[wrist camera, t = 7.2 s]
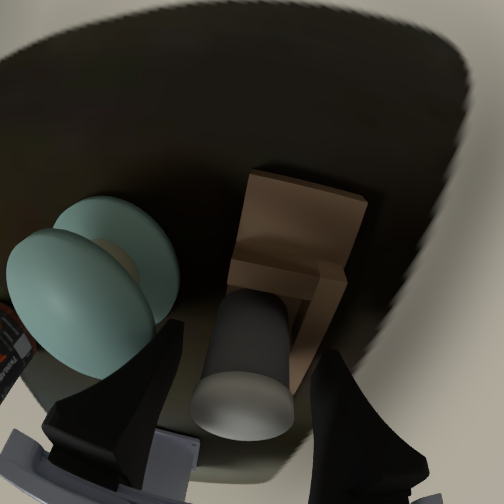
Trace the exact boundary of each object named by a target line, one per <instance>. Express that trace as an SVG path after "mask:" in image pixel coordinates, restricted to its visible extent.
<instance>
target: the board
mask: <svg viewBox="0 0 504 504" xmlns="http://www.w3.org/2000/svg"><path fill="white" fill-rule="evenodd" d="M367 205H368V202H367V201H366V200H365V199H364V197H363V196H361V195H358V194H354V193H351V192H347V191H343V190H340V189H336V188H332V187H328V186H324V185H320V184H317V183H313V182H309V181H304V180H300V179H296V178H292V177H288V176H283V175H279V174H274V173H270V172H265V171H261V170H256V169H251V172H250V175H249V180H248V184H247V189H246V194H245V199H244V204H243V209H242V214H241V219H240V224H239V229H238V234H237V240H236V244H235V248H234V251H233V255H232V259H231V264H230V269H229V274H228V280H227V284H228V286H227V292H226V296H227V295H228V294H230V293H231V292H233V291H235V290H238V289H242V288H249V289H254V290H259V291H264V292H269V293H273V294H275V295H276V296H278V297H279V298H280V299H281V300H282V301H283V303H284V304H285V306H286V308H287V311H288V332H289V381H290V392H291V393H292V395H294V394H295V392H296V390H297V388H298V386H299V384H300V383H301V381H302V379H303V377H304V375H305V373H306V371H307V369H308V367H309V365H310V363H311V361H312V359H313V357H314V355H315V353H316V351H317V349H318V347H319V345H320V343H321V341H322V339H323V337H324V335H325V333H326V331H327V328H328V326H329V324H330V322H331V320H332V318H333V315H334V313H335V311H336V309H337V307H338V304H339V302H340V300H341V297H342V295H343V293H344V291H345V288H346V286H347V284H348V282H347V279H346V276H345V273H344V268H345V265H346V263H347V260H348V257H349V255H350V252H351V250H352V247H353V244H354V241H355V239H356V236H357V233H358V231H359V228H360V225H361V222H362V219H363V216H364V214H365V211H366V208H367Z"/></svg>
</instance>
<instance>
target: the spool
mask: <svg viewBox="0 0 504 504" xmlns="http://www.w3.org/2000/svg"><path fill="white" fill-rule="evenodd" d="M6 275H7V285H8V290H9V294H10V297H11V300H12V303H13V305H14V308H15V310H16V312H17V314H18V316H19V317H20V319H21V321H22V322H23V324H24V325H25V327H26V328H27V330H28V331H29V332H30V334H31V335H32V336H33V337H34V338H35V339H36V341H37V342H38V343H39V344H40V345H41V346H42V347H43V348H44V349H45V350H47V351H48V352H49V353H50V354H51V355H52V356H54V357H55V358H56V359H58V360H59V361H61V362H62V363H64V364H65V365H67V366H69V367H70V368H72V369H74V370H76V371H78V372H80V373H83V374H85V375H88V376H91V377H94V378H98V379H104V378H106V377H107V376H109V375H110V374H112V373H113V372H115V371H116V370H118V369H119V368H120V367H122V366H123V365H124V364H125V363H127V362H128V361H129V360H130V359H131V358H132V357H134V356H135V355H136V354H137V353H138V352H139V351H140V350H141V349H142V348H144V347H145V346H146V345H147V344H148V343H149V342H150V341H151V339H152V338H153V337H154V336H155V335H156V324H157V323H159V322H160V321H161V320H163V319H164V318H165V317H166V316H167V314H168V313H169V312H170V310H171V308H172V306H173V304H174V302H175V300H176V297H177V295H178V292H179V288H180V282H181V273H180V265H179V261H178V258H177V254H176V252H175V250H174V247H173V245H172V243H171V241H170V240H169V238H168V236H167V235H166V233H165V232H164V231H163V229H162V228H161V227H160V226H159V224H158V223H157V222H156V221H155V220H154V219H153V218H152V217H151V216H149V215H148V214H147V213H146V212H144V211H143V210H142V209H140V208H139V207H137V206H135V205H134V204H132V203H130V202H128V201H125V200H123V199H120V198H116V197H112V196H93V197H88V198H85V199H83V200H81V201H79V202H77V203H76V204H74V205H73V206H71V207H70V208H68V209H67V210H65V211H64V212H63V213H62V214H61V215H60V217H59V218H58V219H57V221H56V223H55V225H54V227H53V228H47V229H43V230H39V231H37V232H34V233H32V234H31V235H30V236H28V237H27V238H26V239H24V240H23V241H22V242H21V243H19V244H18V245H17V246H16V247H15V248H14V249H13V251H12V252H11V254H10V256H9V260H8V263H7V271H6Z"/></svg>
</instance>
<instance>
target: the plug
mask: <svg viewBox="0 0 504 504" xmlns="http://www.w3.org/2000/svg"><path fill="white" fill-rule="evenodd" d="M189 413H190V416H191V418H192V419H193V421H194V422H195V423H196V424H197V425H199V426H200V427H201V428H203V429H204V430H206V431H208V432H210V433H212V434H215V435H217V436H220V437H224V438H228V439H233V440H241V441H258V440H265V439H270V438H273V437H276V436H279V435H281V434H283V433H285V432H286V431H287V430H288V429H289V428H290V427H291V426H292V424H293V422H294V399H293V396H292V393H291V392H290V381H289V332H288V311H287V308H286V306H285V304H284V303H283V301H282V300H281V299H280V298H279V297H278V296H276V295H275V294H273V293H269V292H264V291H259V290H254V289H249V288H242V289H238V290H235V291H233V292H231V293H230V294H228V295H227V296H226V297H225V298H224V299H223V300H222V301H221V303H220V306H219V309H218V313H217V316H216V320H215V324H214V328H213V332H212V336H211V340H210V344H209V347H208V351H207V355H206V359H205V363H204V367H203V371H202V375H201V379H200V381H199V382H198V383H197V384H196V386H195V388H194V391H193V394H192V398H191V402H190V406H189Z"/></svg>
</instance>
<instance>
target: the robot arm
mask: <svg viewBox="0 0 504 504" xmlns="http://www.w3.org/2000/svg"><path fill="white" fill-rule="evenodd" d="M183 332H184V322H182V321H178V320H174V319H169V320H168V321H167V322H166V324H165V325H164V326H163V327H162V329H161V330H160V331H159V332H158V333H157V334H156V335H155V336H154V337H153V338H152V339H151V341H150V342H149V343H148V344H147V345H146V346H145V347H144V348H142V349H141V350H140V351H139V352H138V353H137V354H136V355H135V356H134V357H132V358H131V359H130V360H129V361H128V362H127V363H125V364H124V365H123V366H122V367H120V368H119V369H118V370H116V371H115V372H113V373H112V374H110V375H109V376H107V377H106V378H104V379H103V380H101V381H100V382H98V383H96V384H94V385H92V386H91V387H89V388H87V389H85V390H83V391H81V392H79V393H77V394H74V395H72V396H69V397H67V398H64V399H62V400H59V401H57V402H55V404H54V405H53V407H52V408H51V409H50V411H49V412H48V414H47V416H46V418H45V420H44V422H43V424H42V430H43V432H44V433H45V435H46V436H47V437H48V439H49V440H50V441H51V442H52V443H53V447H52V449H51V452H50V453H49V452H47V451H45V450H44V449H43V447H42V446H41V445H40V444H39V443H38V442H36V441H35V440H33V439H32V438H30V437H28V436H27V435H25V434H23V433H22V432H20V431H18V430H17V429H13V431H12V433H11V434H10V436H9V439H8V440H7V442H6V444H5V446H4V448H3V450H2V452H1V454H0V476H1V477H2V478H4V479H5V480H7V481H8V482H9V483H11V484H12V485H14V486H15V487H17V488H18V489H20V490H21V491H23V492H24V493H26V494H27V495H29V496H31V497H32V498H34V499H36V500H38V501H39V502H41V503H43V504H191V503H186V502H184V501H185V496H186V492H187V487H188V482H189V477H190V472H191V470H192V471H195V470H196V466H197V460H198V453H199V447H200V440H199V439H197V438H193V437H189V436H184V435H180V434H176V433H172V432H168V431H165V430H161V429H157V428H156V425H157V422H158V418H159V415H160V412H161V410H162V407H163V405H164V402H165V400H166V397H167V395H168V392H169V390H170V387H171V385H172V382H173V380H174V378H175V375H176V373H177V369H178V366H179V362H180V358H181V355H182V347H183ZM310 400H311V411H312V422H313V433H314V454H313V469H312V480H311V488H310V495H309V501H308V504H409V499H408V496H411V488H412V487H414V486H416V485H417V484H419V483H420V482H422V481H424V480H425V479H426V478H427V477H428V476H429V468H428V464H427V460H426V457H425V456H423V455H422V454H420V453H419V452H418V451H416V450H414V449H413V448H412V447H411V446H409V445H408V444H407V443H406V442H405V441H404V440H402V439H401V438H400V437H399V436H398V435H397V434H396V433H395V432H394V431H393V430H392V429H391V428H390V427H389V426H388V425H387V424H386V423H385V422H384V421H383V420H382V418H381V417H380V416H379V415H378V413H377V412H376V411H375V410H374V408H373V407H372V406H371V404H370V403H369V402H368V400H367V399H366V397H365V396H364V394H363V393H362V391H361V390H360V388H359V387H358V385H357V383H356V381H355V380H354V378H353V376H352V375H351V373H350V371H349V369H348V368H347V366H346V364H345V362H344V360H343V359H342V357H341V355H340V353H339V352H338V350H330V349H325V351H324V353H323V355H322V357H321V359H320V360H319V362H318V364H317V366H316V368H315V370H314V372H313V374H312V375H311V386H310ZM411 504H443V500H442V495H441V494H440V493H439V494H435V495H431V496H427V497H423V498H420V499H418V500H416V501H414V502H412V503H411Z"/></svg>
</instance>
